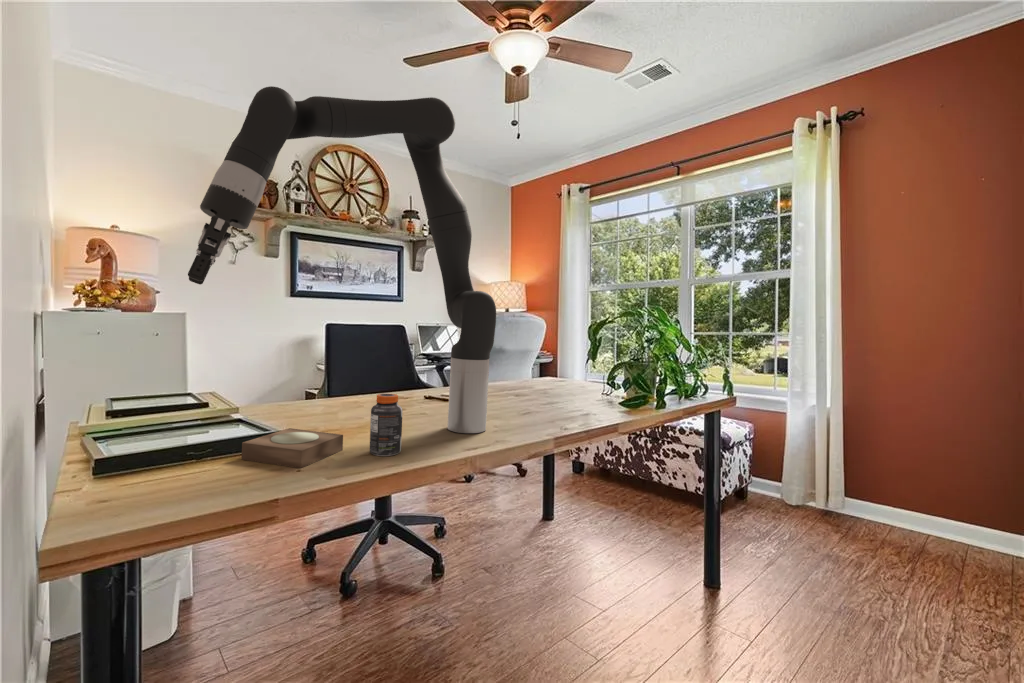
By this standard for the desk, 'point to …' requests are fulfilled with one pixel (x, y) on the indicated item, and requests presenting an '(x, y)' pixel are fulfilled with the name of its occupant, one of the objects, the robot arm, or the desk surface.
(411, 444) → the desk surface
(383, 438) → the pill bottle
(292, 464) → the walnut base
